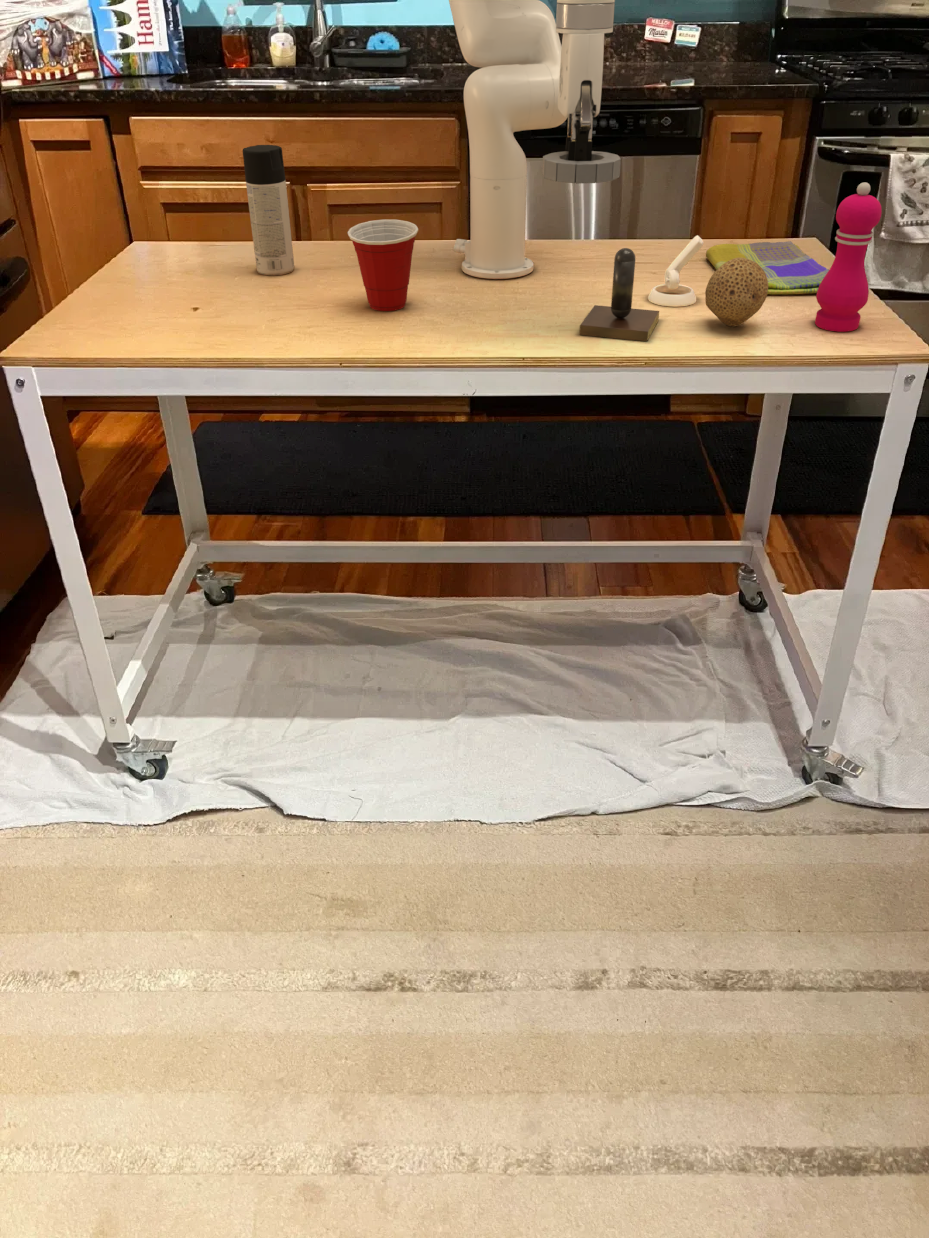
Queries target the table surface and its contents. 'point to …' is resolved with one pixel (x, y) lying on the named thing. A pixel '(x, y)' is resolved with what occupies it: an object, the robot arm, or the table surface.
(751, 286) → the natural sponge
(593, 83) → the robot arm
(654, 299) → the white lever handle
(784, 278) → the dish towel
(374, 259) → the plastic cup
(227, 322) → the table surface
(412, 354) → the table surface
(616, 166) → the grey ring
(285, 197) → the spray can
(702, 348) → the table surface
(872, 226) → the pepper mill
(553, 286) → the table surface
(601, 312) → the spindle
